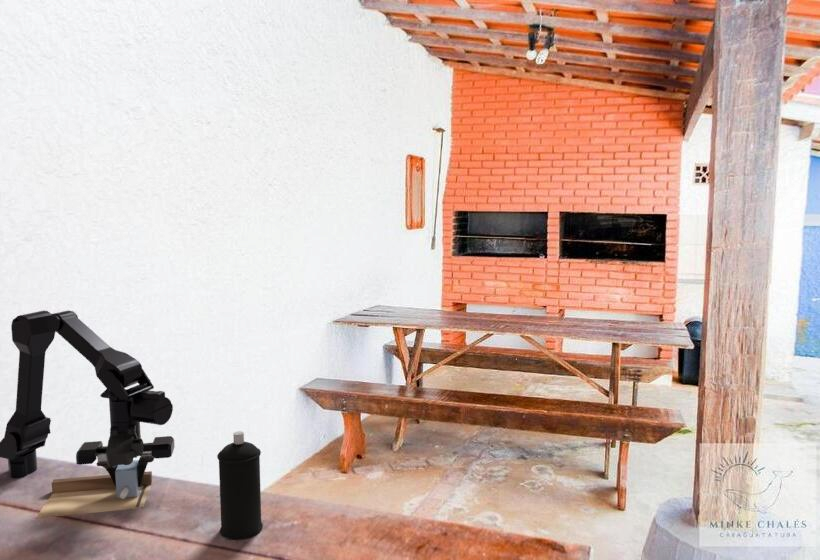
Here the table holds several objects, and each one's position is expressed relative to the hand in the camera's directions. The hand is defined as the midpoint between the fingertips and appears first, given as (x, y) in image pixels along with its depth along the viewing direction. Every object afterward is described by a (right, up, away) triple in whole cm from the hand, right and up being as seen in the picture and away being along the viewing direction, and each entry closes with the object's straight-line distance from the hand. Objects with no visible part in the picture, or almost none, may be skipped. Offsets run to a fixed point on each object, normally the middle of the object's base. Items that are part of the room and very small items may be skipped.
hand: (128, 487), depth 139 cm
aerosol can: (+27, -5, -11) cm, 30 cm away
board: (-5, -3, -3) cm, 7 cm away
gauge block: (0, -1, -2) cm, 2 cm away
